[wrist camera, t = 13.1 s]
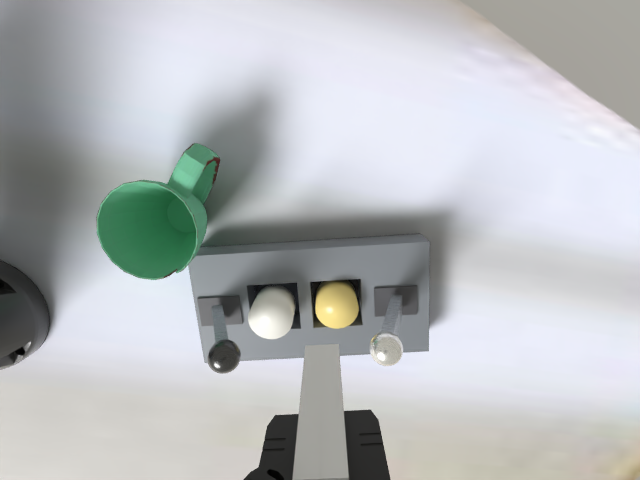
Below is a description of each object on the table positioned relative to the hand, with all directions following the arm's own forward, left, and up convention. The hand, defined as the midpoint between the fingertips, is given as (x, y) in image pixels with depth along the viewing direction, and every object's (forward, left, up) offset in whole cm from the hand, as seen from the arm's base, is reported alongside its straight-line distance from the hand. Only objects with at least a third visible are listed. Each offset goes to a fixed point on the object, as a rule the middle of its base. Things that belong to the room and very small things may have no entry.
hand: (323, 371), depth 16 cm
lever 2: (+8, -8, -23) cm, 26 cm away
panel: (-2, -8, -28) cm, 30 cm away
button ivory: (-6, -8, -24) cm, 26 cm away
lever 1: (-13, -8, -23) cm, 28 cm away
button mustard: (+1, -8, -26) cm, 27 cm away
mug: (-15, +5, -29) cm, 33 cm away
